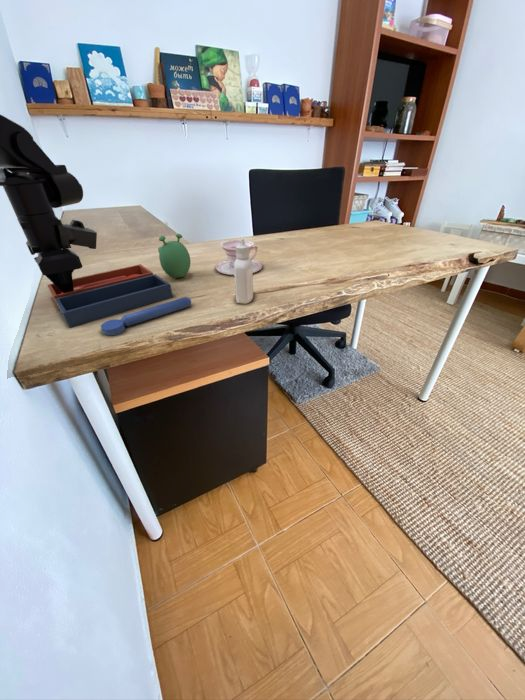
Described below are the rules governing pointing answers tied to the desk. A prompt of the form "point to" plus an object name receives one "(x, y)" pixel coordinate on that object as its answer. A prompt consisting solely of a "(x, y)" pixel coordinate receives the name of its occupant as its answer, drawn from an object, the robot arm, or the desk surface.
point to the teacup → (230, 249)
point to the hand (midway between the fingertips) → (69, 294)
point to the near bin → (112, 299)
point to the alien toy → (174, 257)
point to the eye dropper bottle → (243, 274)
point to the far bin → (99, 277)
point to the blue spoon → (143, 316)
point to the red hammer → (102, 282)
